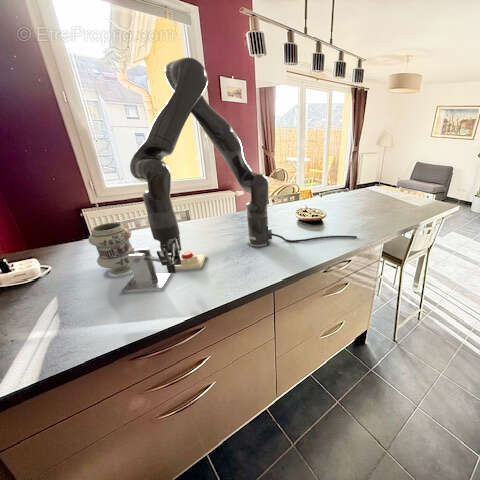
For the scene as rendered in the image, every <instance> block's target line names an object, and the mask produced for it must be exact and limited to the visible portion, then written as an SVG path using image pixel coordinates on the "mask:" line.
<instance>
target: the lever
mask: <svg viewBox="0 0 480 480" xmlns="http://www.w3.org/2000/svg"><path fill="white" fill-rule="evenodd" d="M135 254H144V255H145V259H146V260H150V261H153V262H157V263H161V262H160V259H159V257H158V256H152V255H151V256H146V254H147V253H144V252H139V251H137V252H136V253H135ZM177 261H178V257H174V264H176V262H177Z"/></svg>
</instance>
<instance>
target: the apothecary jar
mask: <svg viewBox="0 0 480 480" xmlns="http://www.w3.org/2000/svg"><path fill="white" fill-rule="evenodd" d="M90 231H91V234H90V235H89V236H88V243H89V244H90V245H92V246H94V247H95V248H96V251H97V253H98V257H97V259H96V263H97V265H98V266H99V267H101V268H103V269H109V272H110V273H111V274H123V273H126V272H129V271H132V268H131V265H130V262H129V259H128V255H129V254H134V251H133V250H134V249H135V247H132V245H131V242H130V239H131V237H132V231H130V229H128V228H126V227H124V226H123V224H122V223H121V222H106V223H101V224H98V225H95V226H93V227H92V228H91V229H90Z"/></svg>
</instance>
